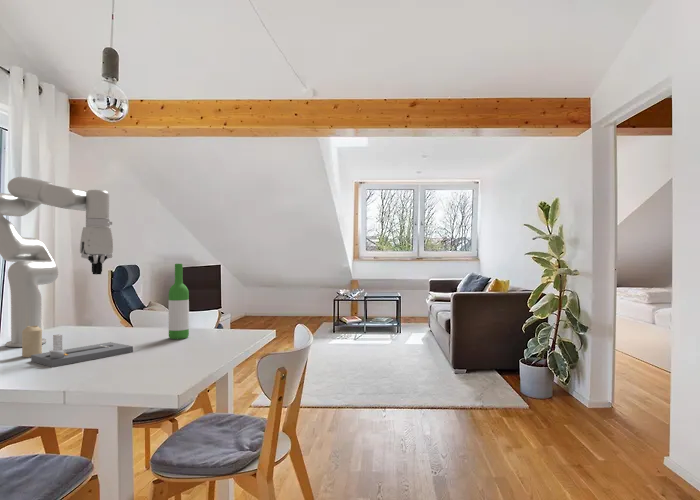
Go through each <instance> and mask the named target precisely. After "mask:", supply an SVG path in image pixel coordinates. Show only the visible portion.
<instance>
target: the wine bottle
mask: <svg viewBox="0 0 700 500" xmlns="http://www.w3.org/2000/svg"><path fill="white" fill-rule="evenodd" d="M183 267H184V266H183V263H175V264H174V283H173V284H172V285H171V286H170V288H169V290H168V338H169V339H170V340H183V339H187V338H189V335H190V331H189V330H190V301H189V300H190V299H189V298H190V297H189V296H190V294H189V293H190V291H189V289H188V287H187V286H186V284H184V280H183V278H184V277H183V276H184V275H183Z"/></svg>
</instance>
